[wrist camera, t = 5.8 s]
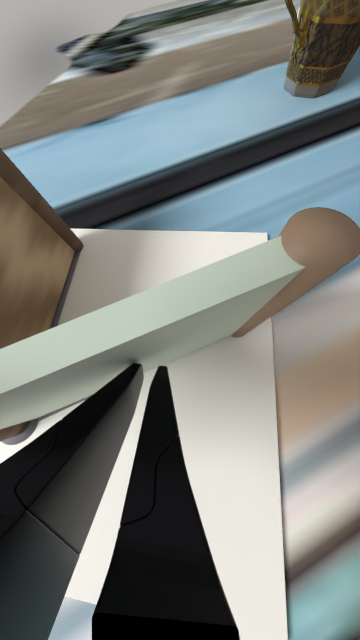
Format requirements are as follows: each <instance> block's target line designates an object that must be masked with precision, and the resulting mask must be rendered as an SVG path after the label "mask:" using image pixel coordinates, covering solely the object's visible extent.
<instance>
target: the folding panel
mask: <svg viewBox="0 0 360 640" xmlns="http://www.w3.org/2000/svg"><path fill="white" fill-rule="evenodd" d="M359 254H360V229H359V227H358V225H357V224H356V223H355V222H354V221H353V220H352V219H351V218H349V217H348V216H346V215H345V214H343V213H341V212H339V211H336V210H333V209H329V208H321V207H315V208H308V209H304V210H301V211H299V212H297V213H296V214H294V215H293V216H292V217H291V218H290V219H289V221H288V222H287V224H286V225H285V227H284V228H283V230H282V232H281V233H280V235H279V236H278V237H276V238H274V239H271V240H269V241H266V242H264V243H261V244H259V245H256V246H254V247H251V248H249V249H247V250H244V251H242V252H239V253H237V254H234V255H232V256H229V257H227V258H224V259H222V260H219V261H217V262H214V263H212V264H209V265H207V266H204V267H202V268H200V269H197V270H195V271H192V272H190V273H187V274H185V275H182V276H180V277H177V278H175V279H172V280H170V281H167V282H165V283H162V284H160V285H157V286H155V287H153V288H150V289H148V290H145V291H143V292H140V293H138V294H135V295H133V296H130V297H128V298H125V299H123V300H120V301H118V302H115V303H113V304H111V305H108V306H106V307H103V308H101V309H98V310H96V311H93V312H91V313H88V314H86V315H83V316H81V317H78V318H76V319H73V320H71V321H68V322H66V323H64V324H61V325H59V326H56V327H54V328H51V329H49V330H46V331H44V332H41V333H39V334H36V335H34V336H31V337H29V338H26V339H24V340H21V341H19V342H17V343H14V344H12V345H9V346H7V347H4V348H2V349H0V429H3V428H7V427H10V426H13V425H16V424H20V423H23V422H26V421H29V420H33V419H36V418H39V417H41V416H43V415H46V414H48V413H50V412H53V411H55V410H57V409H60V408H62V407H65V406H67V405H69V404H72V403H74V402H76V401H79V400H81V399H83V398H86V397H88V396H90V395H93V394H94V393H95V392H97V391H98V390H99V389H101V388H102V387H103V386H104V385H106V384H107V383H108V382H110V381H111V380H112V379H113V378H115V377H116V376H117V375H119V374H120V373H121V372H122V371H124V370H125V369H126V368H128V367H129V366H130V365H131V364H133V363H140V364H142V366H143V373H144V372H147V371H149V370H152V369H154V368H156V367H158V366H161V365H163V364H166V363H168V362H170V361H173V360H175V359H177V358H180V357H182V356H184V355H187V354H189V353H192V352H194V351H196V350H199V349H201V348H203V347H206V346H208V345H210V344H213V343H215V342H217V341H220V340H222V339H224V338H227V337H229V336H232V337H235V338H239V337H242V336H244V335H245V334H247V333H248V332H250V331H251V330H253V329H254V328H256V327H257V326H258V325H260V324H261V323H263V322H264V321H266V320H267V319H269V318H270V317H271V316H273V315H274V314H276V313H277V312H279V311H280V310H282V309H283V308H284V307H286V306H287V305H289V304H290V303H292V302H293V301H295V300H296V299H297V298H299V297H300V296H302V295H303V294H305V293H306V292H308V291H309V290H310V289H312V288H313V287H315V286H316V285H318V284H319V283H321V282H322V281H323V280H325V279H326V278H328V277H329V276H331V275H332V274H334V273H335V272H337V271H338V270H339V269H341V268H342V267H344V266H345V265H347V264H348V263H350V262H351V261H352V260H354V259H355V258H356V257H357V256H358V255H359Z"/></svg>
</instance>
